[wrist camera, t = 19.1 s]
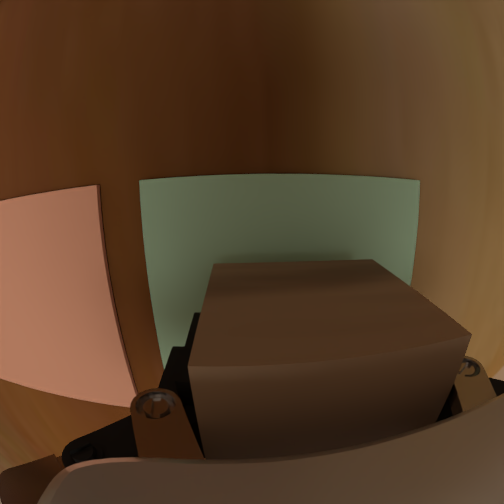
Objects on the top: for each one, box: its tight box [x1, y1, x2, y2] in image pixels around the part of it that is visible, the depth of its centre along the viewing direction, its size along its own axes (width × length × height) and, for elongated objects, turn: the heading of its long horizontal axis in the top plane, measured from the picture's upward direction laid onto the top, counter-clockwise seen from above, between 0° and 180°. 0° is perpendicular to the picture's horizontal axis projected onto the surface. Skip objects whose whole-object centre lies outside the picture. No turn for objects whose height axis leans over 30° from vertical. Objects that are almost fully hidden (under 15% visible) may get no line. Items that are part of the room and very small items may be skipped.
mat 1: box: [0, 185, 138, 407], centre depth 12 cm, size 12×12×1 cm
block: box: [188, 259, 472, 460], centre depth 9 cm, size 6×6×6 cm
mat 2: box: [139, 174, 420, 369], centre depth 13 cm, size 12×12×1 cm
